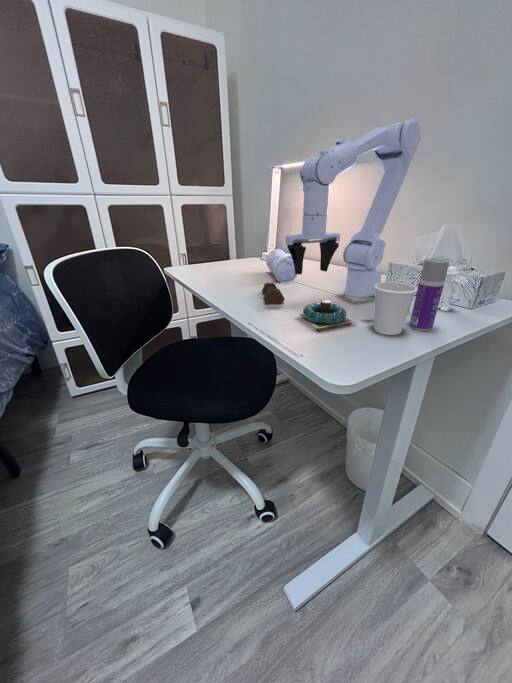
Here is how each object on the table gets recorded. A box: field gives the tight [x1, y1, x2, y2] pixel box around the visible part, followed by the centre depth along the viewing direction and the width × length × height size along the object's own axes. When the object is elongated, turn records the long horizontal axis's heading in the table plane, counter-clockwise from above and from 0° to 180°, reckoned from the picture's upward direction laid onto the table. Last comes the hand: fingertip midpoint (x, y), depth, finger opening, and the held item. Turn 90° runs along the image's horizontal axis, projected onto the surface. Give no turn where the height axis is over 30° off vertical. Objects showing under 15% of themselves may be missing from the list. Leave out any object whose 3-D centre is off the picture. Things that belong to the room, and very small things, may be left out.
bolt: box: [261, 282, 285, 306], centre depth 85 cm, size 6×5×15 cm
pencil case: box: [265, 248, 298, 283], centre depth 111 cm, size 21×9×10 cm, turn 7°
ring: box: [302, 302, 348, 325], centre depth 69 cm, size 10×10×2 cm
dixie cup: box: [373, 281, 418, 336], centre depth 63 cm, size 8×8×10 cm
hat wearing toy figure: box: [438, 263, 469, 312], centre depth 76 cm, size 9×4×12 cm, turn 20°
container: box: [408, 258, 450, 332], centre depth 63 cm, size 5×5×15 cm
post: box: [298, 299, 352, 333], centre depth 69 cm, size 9×9×5 cm
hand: (311, 272), depth 75 cm, fingers open, 7 cm apart
